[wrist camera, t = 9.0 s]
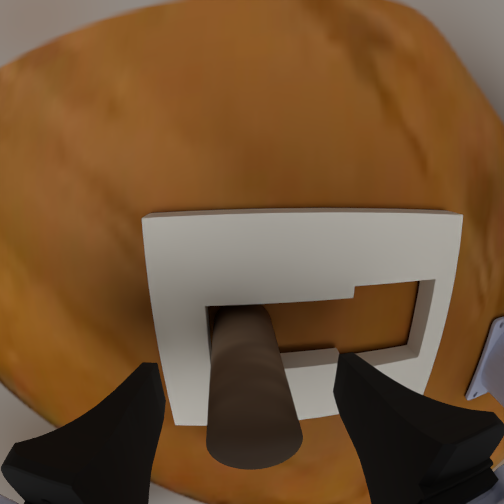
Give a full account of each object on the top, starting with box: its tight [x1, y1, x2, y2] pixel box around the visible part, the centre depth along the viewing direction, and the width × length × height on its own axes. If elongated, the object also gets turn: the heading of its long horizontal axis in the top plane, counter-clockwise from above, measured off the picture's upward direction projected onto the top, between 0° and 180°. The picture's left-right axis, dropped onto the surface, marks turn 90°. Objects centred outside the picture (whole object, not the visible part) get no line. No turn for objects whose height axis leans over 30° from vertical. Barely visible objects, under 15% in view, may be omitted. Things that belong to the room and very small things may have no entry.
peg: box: [206, 304, 303, 469], centre depth 12 cm, size 3×3×8 cm
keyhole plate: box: [142, 208, 463, 425], centre depth 15 cm, size 16×12×2 cm
